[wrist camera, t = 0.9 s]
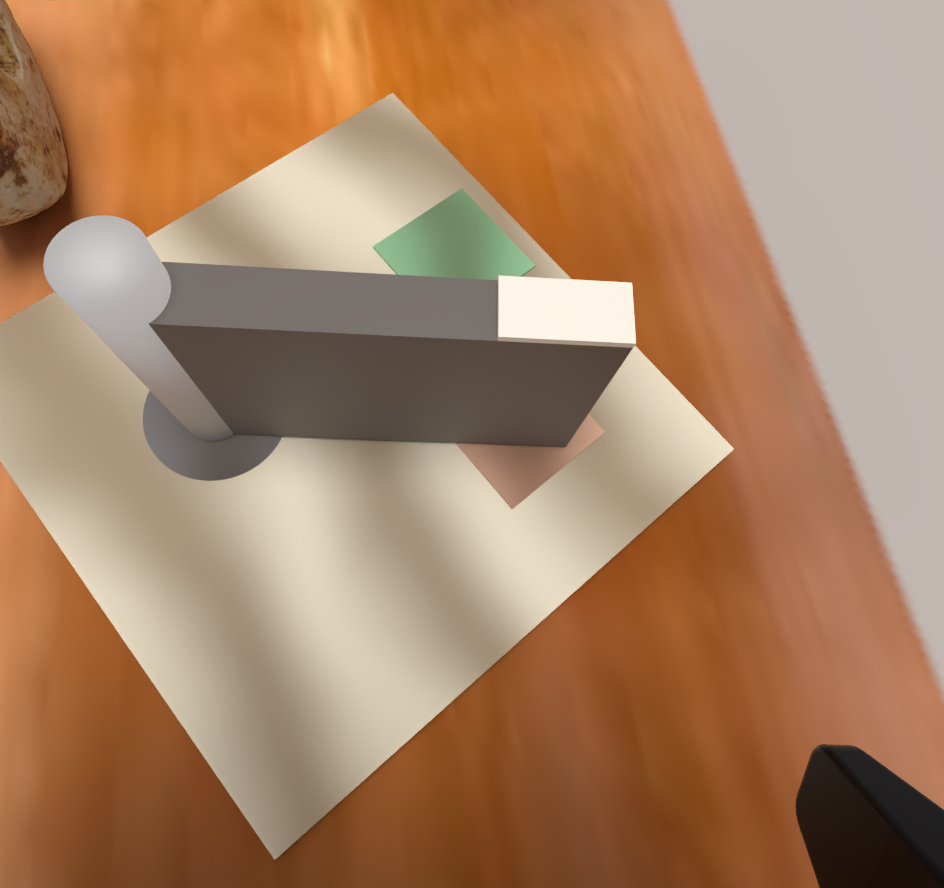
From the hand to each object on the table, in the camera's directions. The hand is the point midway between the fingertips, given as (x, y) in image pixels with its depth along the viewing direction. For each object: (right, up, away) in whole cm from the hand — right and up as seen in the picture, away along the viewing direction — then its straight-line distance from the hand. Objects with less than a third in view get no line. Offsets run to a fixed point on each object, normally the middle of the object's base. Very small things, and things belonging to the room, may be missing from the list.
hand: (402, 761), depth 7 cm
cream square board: (-3, +4, +15) cm, 16 cm away
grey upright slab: (-2, +4, +15) cm, 15 cm away
